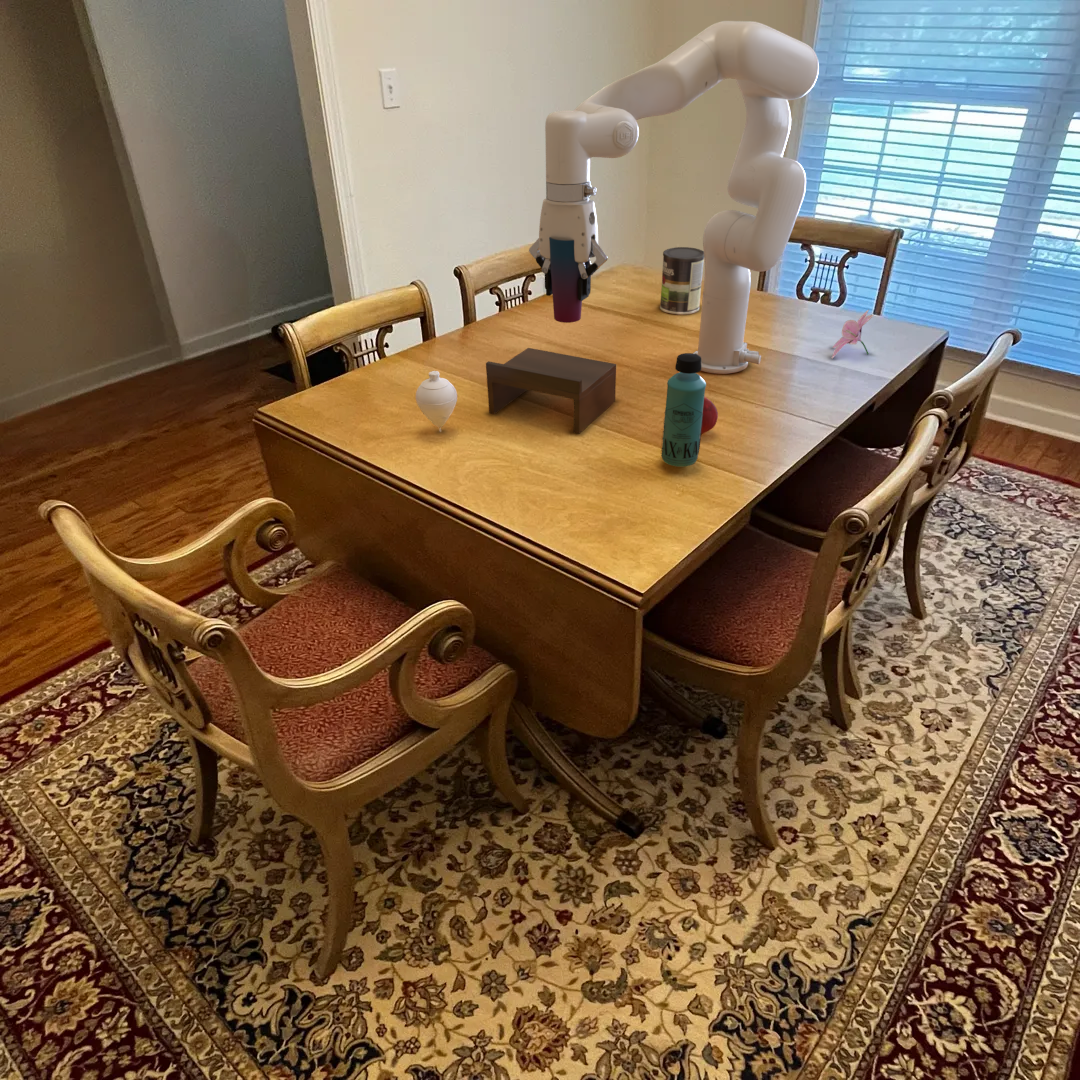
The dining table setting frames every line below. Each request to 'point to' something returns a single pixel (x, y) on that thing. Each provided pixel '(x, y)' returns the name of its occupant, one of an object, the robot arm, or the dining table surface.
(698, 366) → the beverage bottle
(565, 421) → the dining table surface
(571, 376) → the shelf
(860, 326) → the lily
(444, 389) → the spinning top
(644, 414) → the dining table surface
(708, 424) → the onion
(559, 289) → the cup
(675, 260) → the coffee can
